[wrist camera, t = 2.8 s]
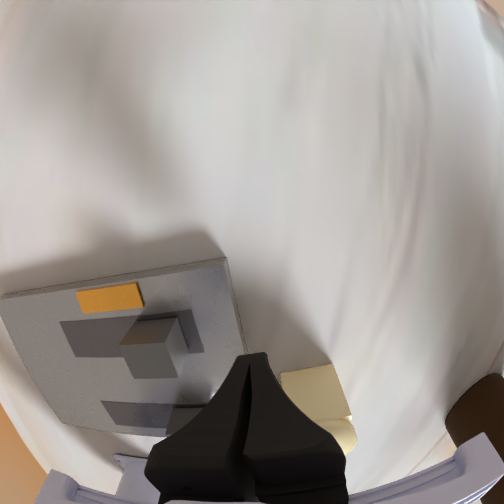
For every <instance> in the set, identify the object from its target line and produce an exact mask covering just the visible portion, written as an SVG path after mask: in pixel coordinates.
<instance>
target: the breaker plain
mask: <svg viewBox="0 0 504 504" xmlns="http://www.w3.org/2000/svg"><path fill="white" fill-rule="evenodd" d="M203 408H204V407H203ZM203 408H173V410H172V413H171V416H170V420H169V423H168V426H167V430H166V433H165V435H166V436H167V437H169V436H171V435H172V434H174V433H175V432H177V431H178V430H180V429H181V428H182V427H184V426H185V425H186V424H187V423H189V422H190V421H191V420H192V419H193V418H194V417H195V416H196V415H197V414H198V413H199V412H200V411H201V410H202V409H203Z"/></svg>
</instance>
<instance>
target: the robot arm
mask: <svg viewBox="0 0 504 504" xmlns="http://www.w3.org/2000/svg"><path fill="white" fill-rule="evenodd" d="M113 458H114V459H115V460H116V461H117V462H118V463H119V465H120V466H121V467H122V468H123V469H124V472H123V475H122V478H121V481H120V483H119V486H118V489H117V492H116V495H112V494H108V493H104V492H100V491H97V490H94V489H90V488H87V487H84V486H81V485H79V484H78V483H77V482H76V481H75V480H74V479H73V478H71V477H70V476H68V475H66V474H63V473H61V472H58V471H55V470H51V471H50V473H49V474H48V476H47V478H46V480H45V482H44V484H43V486H42V488H41V490H40V492H39V494H38V496H37V498H36V500H35V504H471V503H473V502H475V501H476V500H478V499H479V498H481V497H482V496H483V495H484V494H485V493H487V492H488V491H489V490H490V489H491V488H492V487H493V486H494V485H495V484H496V483H497V482H498V481H499V480H500V478H501V477H502V476H503V475H504V463H503V461H502V459H501V458H500V456H499V455H498V453H497V451H496V450H495V448H494V447H493V445H492V444H491V442H490V441H489V439H488V438H487V436H486V435H485V433H484V432H482V433H480V434H479V435H477V436H475V437H474V438H472V439H470V440H468V441H467V442H465V443H463V444H462V445H461V446H459V447H458V448H457V450H456V451H455V453H454V455H453V456H452V457H450V458H448V459H446V460H444V461H442V462H440V463H438V464H436V465H434V466H432V467H429V468H427V469H425V470H422V471H420V472H418V473H415V474H413V475H410V476H408V477H405V478H403V479H400V480H397V481H394V482H391V483H389V484H386V485H383V486H379V487H376V488H373V489H370V490H366V491H363V492H359V493H355V494H351V495H348V492H347V487H346V478H345V474H344V472H345V466H346V458H345V455H344V452H343V450H342V449H341V447H340V445H339V444H338V442H337V441H336V439H335V438H334V436H333V435H332V434H331V433H330V432H328V431H326V430H325V429H323V428H322V427H320V426H319V425H318V424H316V423H315V422H314V421H312V420H311V419H310V418H309V417H308V416H307V415H305V414H304V413H303V412H302V411H301V410H300V409H299V408H298V407H297V406H296V405H295V404H294V403H293V402H292V400H291V399H290V398H289V397H288V396H287V394H286V393H285V392H284V390H283V389H282V387H281V386H280V384H279V383H278V381H277V379H276V378H275V376H274V374H273V372H272V370H271V368H270V365H269V363H268V358H267V354H266V353H265V352H261V353H254V354H246V355H238V356H237V357H236V359H235V361H234V363H233V365H232V367H231V369H230V371H229V373H228V375H227V376H226V378H225V380H224V381H223V383H222V385H221V386H220V388H219V389H218V390H217V392H216V393H215V395H214V396H213V397H212V399H211V400H210V401H209V402H208V403H207V405H206V406H205V407H204V408H203V409H202V410H201V411H200V412H199V413H198V414H197V415H196V416H195V417H194V418H193V419H192V420H191V421H190V422H189V423H187V424H186V425H185V426H184V427H182V428H181V429H180V430H178V431H177V432H175V433H174V434H172V435H171V436H169V437H167V438H166V439H164V440H162V441H160V442H159V443H157V444H155V445H153V447H152V450H151V452H150V454H149V456H148V459H144V458H136V457H129V456H122V455H116V454H115V455H114V456H113Z"/></svg>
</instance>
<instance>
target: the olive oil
mask: <svg viewBox="0 0 504 504" xmlns="http://www.w3.org/2000/svg"><path fill="white" fill-rule="evenodd" d="M445 425H446V429H447V431H448V433H449V434H450V436H451V438H452V440H453V442H454V444H455V445H456V447H457V448H458V447H459V446H461V445H462V444H463V443H465V442H467V441H468V440H470V439H472V438H474V437H475V436H477V435H479V434H480V433H482V432H484V433H485V435H486V436H487V438H488V439H489V441H490V442H491V444H492V445H493V447H494V448H495V450H496V451H497V453H498V455H499V456H500V458H501V459H502V461H503V463H504V378H503V377H502V376H501V375H500V374H491V375H489V376H487V377H485V378H483V379H482V380H480V381H479V382H477V383H476V384H475V385H474V386H473V387H471V388H470V389H469V390H468V391H467V392H466V393H465V394H464V395H463V396H462V397H461V398H460V400H459V401H458V402H457V403H456V404H455V406H454V407H453V408H452V410H451V411H450V413H449V415H448V417H447V420H446V424H445ZM480 500H481V502H482V504H504V475H503V476H502V477H501V478H500V480H499V481H498V482H497V483H496V484H495V485H494V486H493V487H492V488H491V489H490V490H489V491H488V492H487V493H485V494H484V495H483V496H482V497H481V498H480Z"/></svg>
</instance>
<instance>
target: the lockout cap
mask: <svg viewBox="0 0 504 504" xmlns="http://www.w3.org/2000/svg"><path fill="white" fill-rule="evenodd" d="M280 376H281V385H282V389H283V390H284V392H285V393H286V394H287V396H288V397H289V398H290V399H291V400H292V402H293V403H294V404H295V405H296V406H297V407H298V408H299V409H300V410H301V411H302V412H303V413H304V414H305V415H307V416H308V417H309V418H310V419H311V420H312V421H314V422H315V423H316V424H318V425H319V426H320V427H322V428H323V429H325V430H326V431H328V432H330V433H331V434H332V435H333V436H334V438H335V439H336V441H337V442H338V444H339V445H340V447H341V449H342V450H343V452H344V455H346V454H348V453H349V452H350V451H351V450H352V449H353V448H354V447H355V445H356V443H357V435H356V432H355V429H354V427H353V425H352V424H351V416H352V415H351V412H350V409H349V407H348V404H347V401H346V398H345V395H344V393H343V390H342V387H341V384H340V382H339V379H338V376H337V373H336V371H335V368H334V365H333V363H332V364H328V365H323V366H318V367H313V368H307V369H302V370H296V371H290V372H284V373H280Z"/></svg>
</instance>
